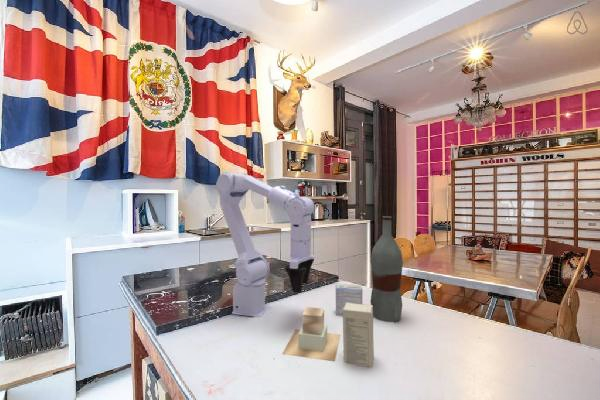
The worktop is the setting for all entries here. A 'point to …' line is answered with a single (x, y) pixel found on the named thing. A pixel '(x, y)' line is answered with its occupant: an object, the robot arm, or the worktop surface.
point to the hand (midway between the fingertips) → (300, 287)
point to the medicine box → (347, 296)
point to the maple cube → (313, 320)
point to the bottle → (386, 276)
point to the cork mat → (327, 354)
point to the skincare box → (358, 334)
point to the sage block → (312, 340)
